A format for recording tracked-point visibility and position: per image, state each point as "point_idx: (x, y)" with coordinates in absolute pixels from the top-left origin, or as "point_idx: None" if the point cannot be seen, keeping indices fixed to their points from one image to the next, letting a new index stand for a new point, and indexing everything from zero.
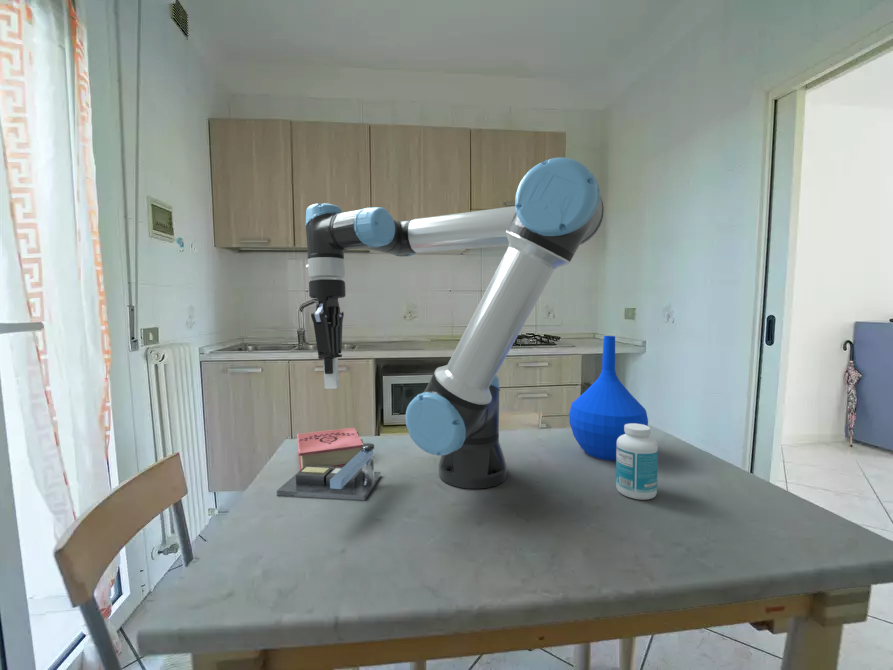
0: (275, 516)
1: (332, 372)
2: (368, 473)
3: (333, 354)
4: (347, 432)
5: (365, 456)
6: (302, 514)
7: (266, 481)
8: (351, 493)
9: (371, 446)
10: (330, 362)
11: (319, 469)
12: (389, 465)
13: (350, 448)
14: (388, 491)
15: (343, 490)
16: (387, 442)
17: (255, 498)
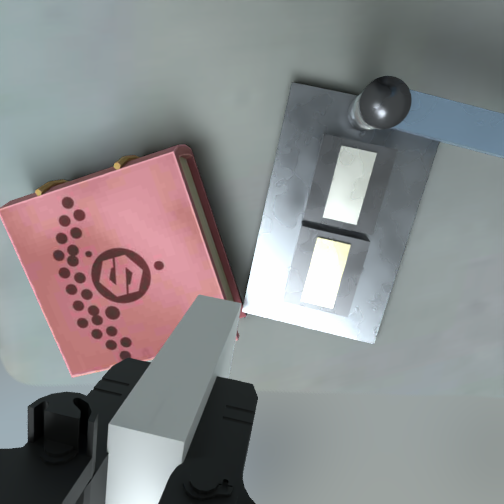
0: (477, 316)
1: (229, 383)
2: None
3: (200, 502)
4: (51, 224)
5: (462, 103)
6: (482, 259)
7: (288, 379)
8: (428, 153)
9: (397, 86)
10: (244, 459)
11: (325, 262)
12: (212, 62)
13: (190, 193)
14: (398, 49)
15: (404, 178)
16: (15, 87)
17: (378, 379)
